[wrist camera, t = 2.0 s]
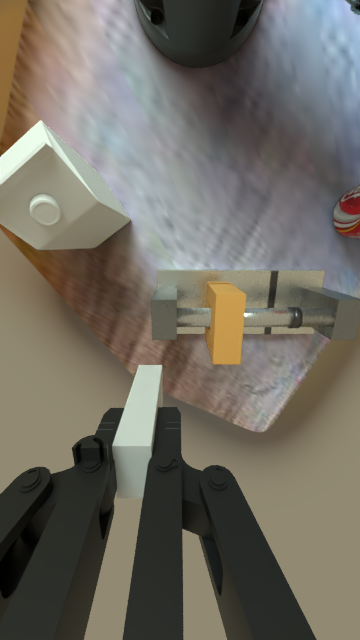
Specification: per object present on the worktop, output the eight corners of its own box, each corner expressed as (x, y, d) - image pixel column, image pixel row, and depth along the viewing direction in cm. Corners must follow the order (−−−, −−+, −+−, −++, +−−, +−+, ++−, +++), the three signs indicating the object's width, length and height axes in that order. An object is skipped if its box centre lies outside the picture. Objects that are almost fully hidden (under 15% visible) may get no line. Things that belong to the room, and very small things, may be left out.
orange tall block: (204, 335, 35) (213, 364, 26) (206, 281, 32) (216, 294, 24) (225, 335, 35) (240, 364, 26) (228, 281, 32) (246, 294, 24)
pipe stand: (159, 330, 40) (152, 358, 30) (157, 269, 37) (150, 278, 27) (308, 330, 40) (351, 358, 30) (319, 269, 37) (370, 278, 27)
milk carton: (62, 205, 34) (-71, 160, 16) (100, 174, 33) (4, 86, 15) (94, 248, 36) (8, 252, 18) (132, 219, 35) (80, 192, 17)
